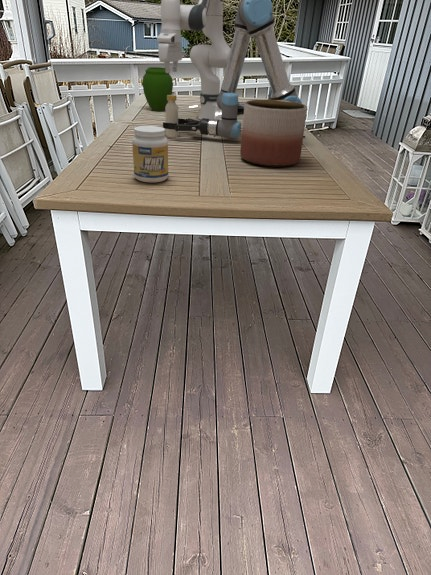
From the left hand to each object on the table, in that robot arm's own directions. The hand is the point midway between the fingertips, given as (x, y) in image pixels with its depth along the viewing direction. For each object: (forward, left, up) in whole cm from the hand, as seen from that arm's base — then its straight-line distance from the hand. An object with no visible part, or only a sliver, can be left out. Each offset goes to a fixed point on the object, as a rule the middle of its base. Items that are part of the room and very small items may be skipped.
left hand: (171, 72), depth 191 cm
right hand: (+2, -1, -22) cm, 22 cm away
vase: (-33, -67, -28) cm, 80 cm away
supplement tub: (+45, +55, -28) cm, 76 cm away
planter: (-11, +58, -28) cm, 66 cm away
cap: (0, 0, -10) cm, 10 cm away
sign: (-90, -45, -28) cm, 105 cm away
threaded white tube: (0, 0, -28) cm, 29 cm away
